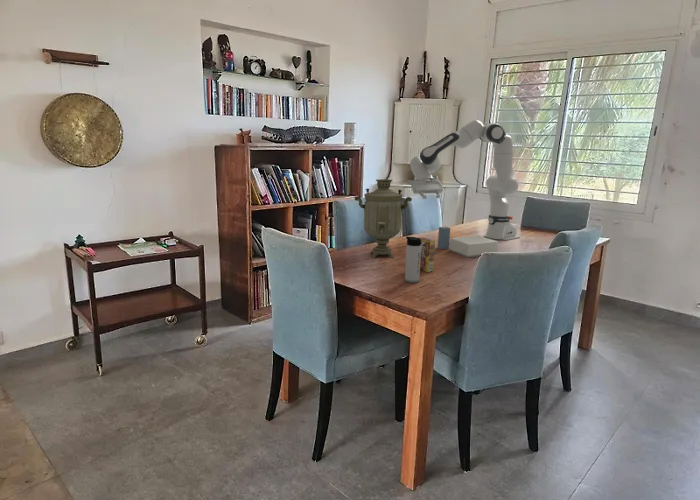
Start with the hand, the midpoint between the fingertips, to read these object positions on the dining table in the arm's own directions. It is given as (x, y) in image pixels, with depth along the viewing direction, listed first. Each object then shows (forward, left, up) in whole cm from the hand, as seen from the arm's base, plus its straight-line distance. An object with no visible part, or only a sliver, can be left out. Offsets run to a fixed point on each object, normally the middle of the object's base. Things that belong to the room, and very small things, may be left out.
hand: (431, 198), depth 273 cm
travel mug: (+51, +62, -27) cm, 85 cm away
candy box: (+36, +49, -27) cm, 67 cm away
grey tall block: (+1, +16, -27) cm, 31 cm away
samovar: (+44, +19, -27) cm, 55 cm away
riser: (-9, +30, -27) cm, 41 cm away
